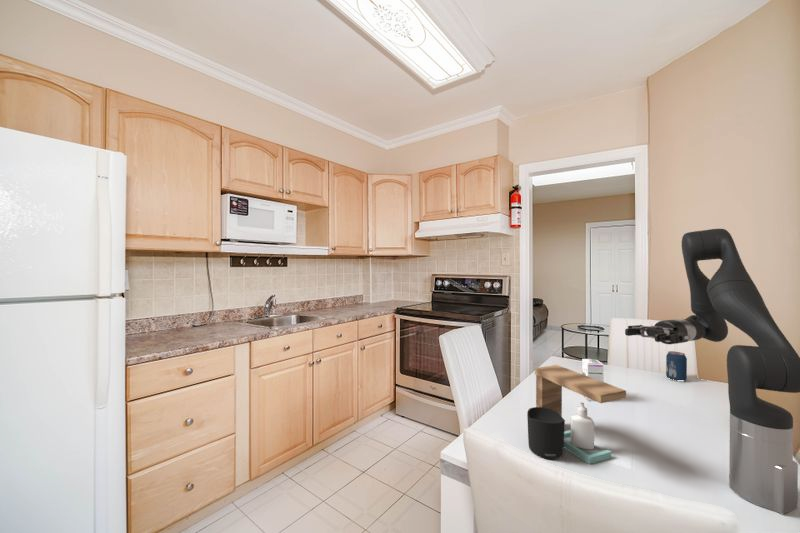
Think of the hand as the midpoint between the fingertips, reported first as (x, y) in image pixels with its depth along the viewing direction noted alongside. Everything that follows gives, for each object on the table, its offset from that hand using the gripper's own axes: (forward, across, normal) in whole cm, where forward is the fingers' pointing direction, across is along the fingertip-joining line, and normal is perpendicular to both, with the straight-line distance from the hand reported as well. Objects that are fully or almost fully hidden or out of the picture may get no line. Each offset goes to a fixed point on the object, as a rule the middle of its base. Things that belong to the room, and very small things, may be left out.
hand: (640, 335), depth 96 cm
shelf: (+24, -2, +30) cm, 39 cm away
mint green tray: (+24, 0, +30) cm, 38 cm away
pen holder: (+35, -2, +30) cm, 46 cm away
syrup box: (-9, -23, +30) cm, 39 cm away
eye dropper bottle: (+24, 0, +30) cm, 38 cm away
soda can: (-63, -25, +30) cm, 74 cm away
